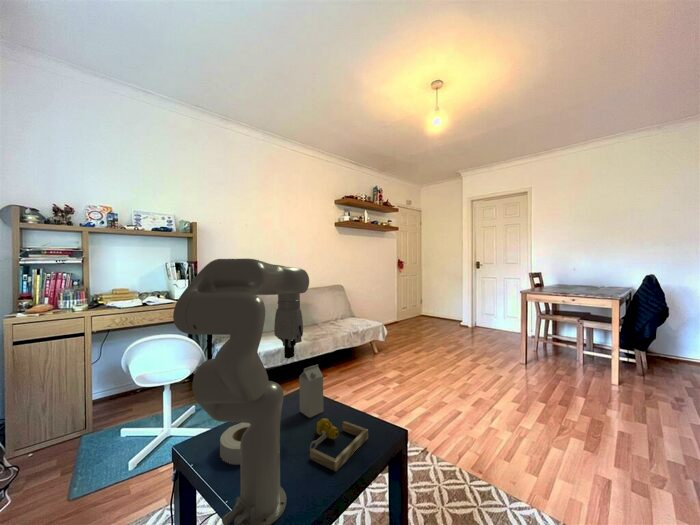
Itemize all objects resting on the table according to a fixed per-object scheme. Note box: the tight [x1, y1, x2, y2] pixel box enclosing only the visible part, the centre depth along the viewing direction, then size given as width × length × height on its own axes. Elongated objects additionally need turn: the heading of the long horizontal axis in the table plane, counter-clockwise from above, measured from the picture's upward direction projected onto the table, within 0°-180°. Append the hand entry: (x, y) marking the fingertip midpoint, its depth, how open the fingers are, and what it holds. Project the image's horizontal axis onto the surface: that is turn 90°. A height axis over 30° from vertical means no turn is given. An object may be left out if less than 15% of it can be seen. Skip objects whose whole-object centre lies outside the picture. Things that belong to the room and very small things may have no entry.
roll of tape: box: [219, 422, 250, 466], centre depth 94 cm, size 16×16×6 cm
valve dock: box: [309, 420, 369, 473], centre depth 94 cm, size 19×10×3 cm, turn 147°
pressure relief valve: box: [309, 418, 339, 451], centre depth 98 cm, size 6×12×10 cm
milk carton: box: [299, 364, 324, 419], centre depth 117 cm, size 7×7×19 cm
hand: (289, 357), depth 99 cm, fingers closed
